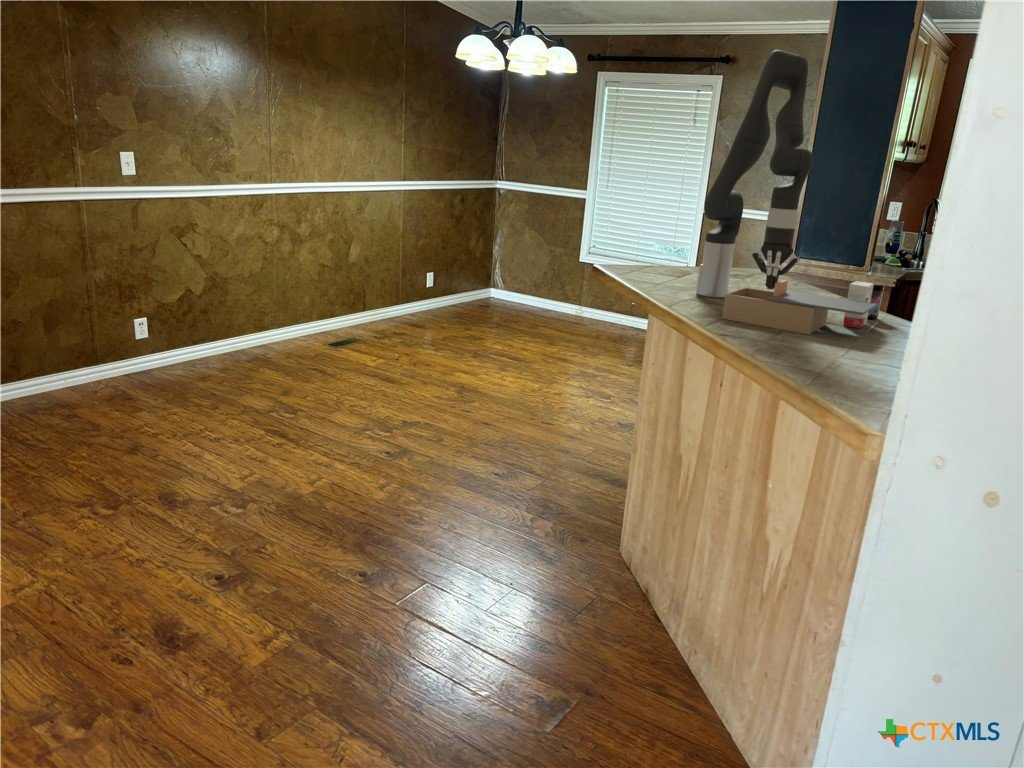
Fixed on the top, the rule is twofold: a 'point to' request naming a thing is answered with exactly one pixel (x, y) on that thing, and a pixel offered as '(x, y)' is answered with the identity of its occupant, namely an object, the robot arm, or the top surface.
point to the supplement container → (875, 299)
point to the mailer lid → (818, 300)
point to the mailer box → (771, 311)
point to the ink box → (858, 293)
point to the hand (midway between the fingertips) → (770, 288)
